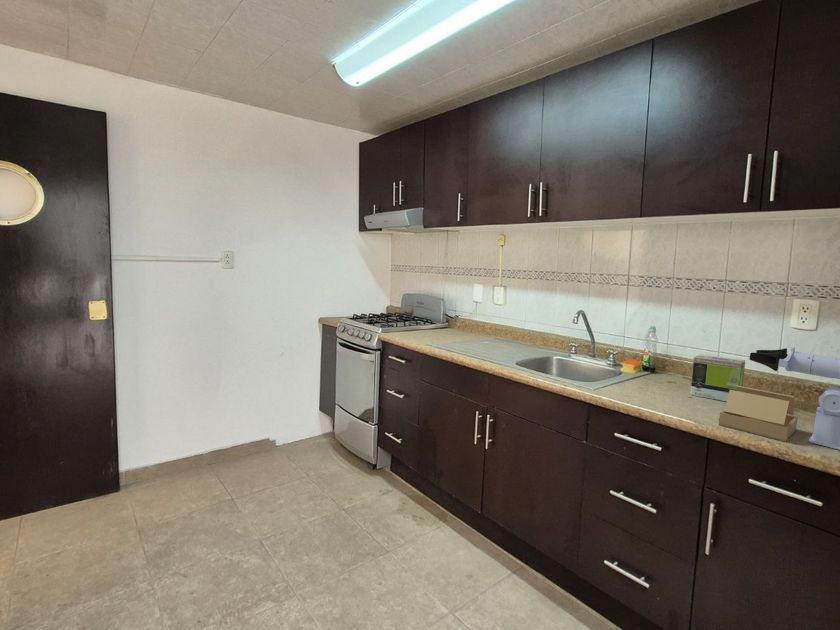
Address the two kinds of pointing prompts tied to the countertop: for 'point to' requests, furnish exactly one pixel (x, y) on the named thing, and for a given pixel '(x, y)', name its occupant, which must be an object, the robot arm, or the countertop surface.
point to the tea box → (716, 376)
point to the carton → (759, 426)
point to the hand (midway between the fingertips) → (753, 354)
